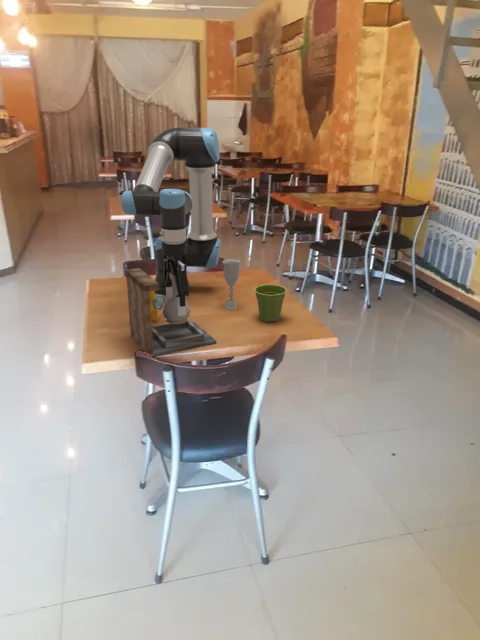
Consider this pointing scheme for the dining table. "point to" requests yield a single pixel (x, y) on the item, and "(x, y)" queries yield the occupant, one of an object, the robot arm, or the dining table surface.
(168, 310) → the potion bottle
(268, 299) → the plant pot
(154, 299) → the orange ring-handled vase
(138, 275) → the ledge nook
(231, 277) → the chalice
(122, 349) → the dining table surface
